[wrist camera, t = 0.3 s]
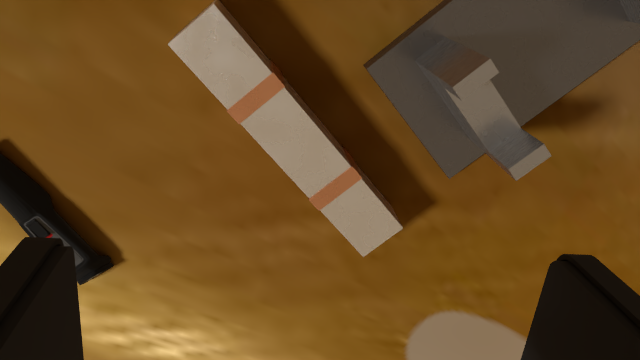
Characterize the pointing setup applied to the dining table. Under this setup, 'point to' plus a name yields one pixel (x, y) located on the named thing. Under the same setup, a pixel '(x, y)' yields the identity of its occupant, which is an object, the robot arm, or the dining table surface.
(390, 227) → the white and orange bar
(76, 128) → the dining table surface
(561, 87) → the grey stand
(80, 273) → the electric trimmer
